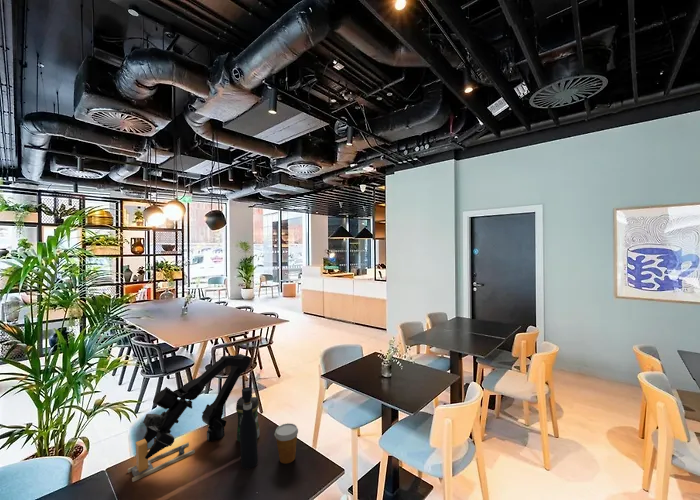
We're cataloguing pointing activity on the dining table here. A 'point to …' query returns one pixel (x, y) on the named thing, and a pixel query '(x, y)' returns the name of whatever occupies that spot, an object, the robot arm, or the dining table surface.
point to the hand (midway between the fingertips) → (142, 453)
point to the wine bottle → (248, 432)
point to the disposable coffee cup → (286, 442)
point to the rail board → (163, 463)
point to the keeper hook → (181, 450)
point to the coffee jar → (240, 413)
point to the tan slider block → (141, 458)
